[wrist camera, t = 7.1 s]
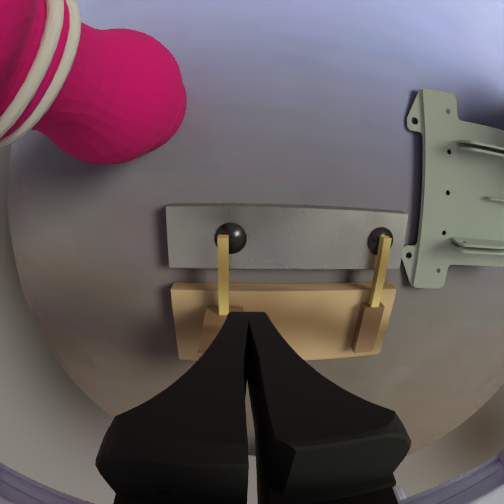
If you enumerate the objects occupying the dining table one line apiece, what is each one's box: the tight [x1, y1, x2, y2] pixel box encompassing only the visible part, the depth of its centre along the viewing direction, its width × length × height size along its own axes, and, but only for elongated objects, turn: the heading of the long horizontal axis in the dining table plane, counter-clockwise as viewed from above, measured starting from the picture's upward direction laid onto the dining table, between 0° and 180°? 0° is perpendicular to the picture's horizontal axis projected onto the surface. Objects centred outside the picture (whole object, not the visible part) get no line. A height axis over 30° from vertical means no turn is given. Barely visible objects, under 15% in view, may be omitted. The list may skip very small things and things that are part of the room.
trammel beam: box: [171, 236, 397, 360], centre depth 20 cm, size 10×16×2 cm, turn 89°
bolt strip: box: [166, 204, 408, 269], centre depth 19 cm, size 4×16×1 cm, turn 89°
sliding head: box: [197, 235, 243, 360], centre depth 17 cm, size 9×2×5 cm, turn 179°
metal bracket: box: [402, 88, 504, 288], centre depth 18 cm, size 14×6×15 cm
